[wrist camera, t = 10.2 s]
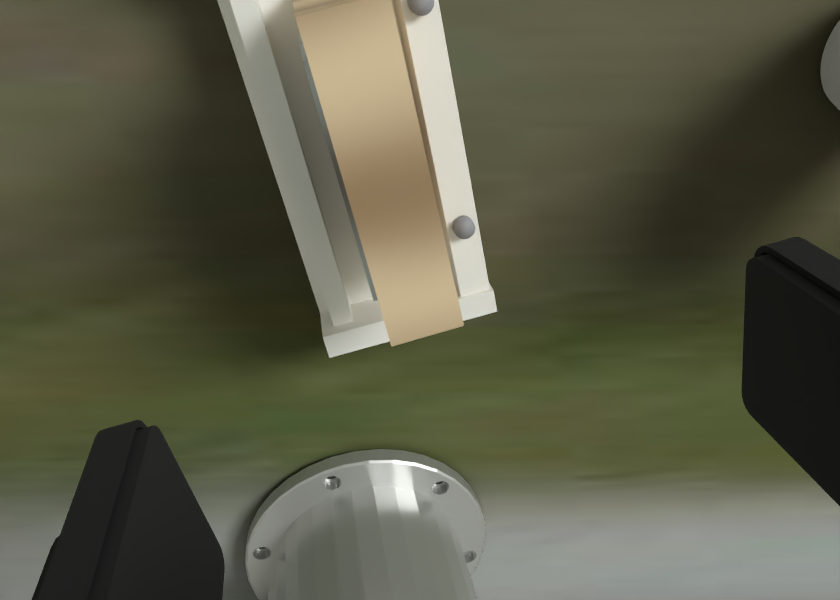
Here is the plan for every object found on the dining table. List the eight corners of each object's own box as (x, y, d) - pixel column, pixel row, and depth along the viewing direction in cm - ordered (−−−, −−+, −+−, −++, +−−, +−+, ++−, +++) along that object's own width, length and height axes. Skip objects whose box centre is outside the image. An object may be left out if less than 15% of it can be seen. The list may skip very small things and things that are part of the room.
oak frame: (423, 240, 28) (463, 325, 22) (363, 257, 28) (386, 347, 22) (360, -25, 23) (389, -8, 17) (286, -5, 23) (289, 18, 17)
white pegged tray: (477, 276, 31) (498, 313, 28) (324, 318, 30) (330, 360, 27) (399, -141, 23) (417, -151, 20) (190, -92, 22) (177, -95, 19)
